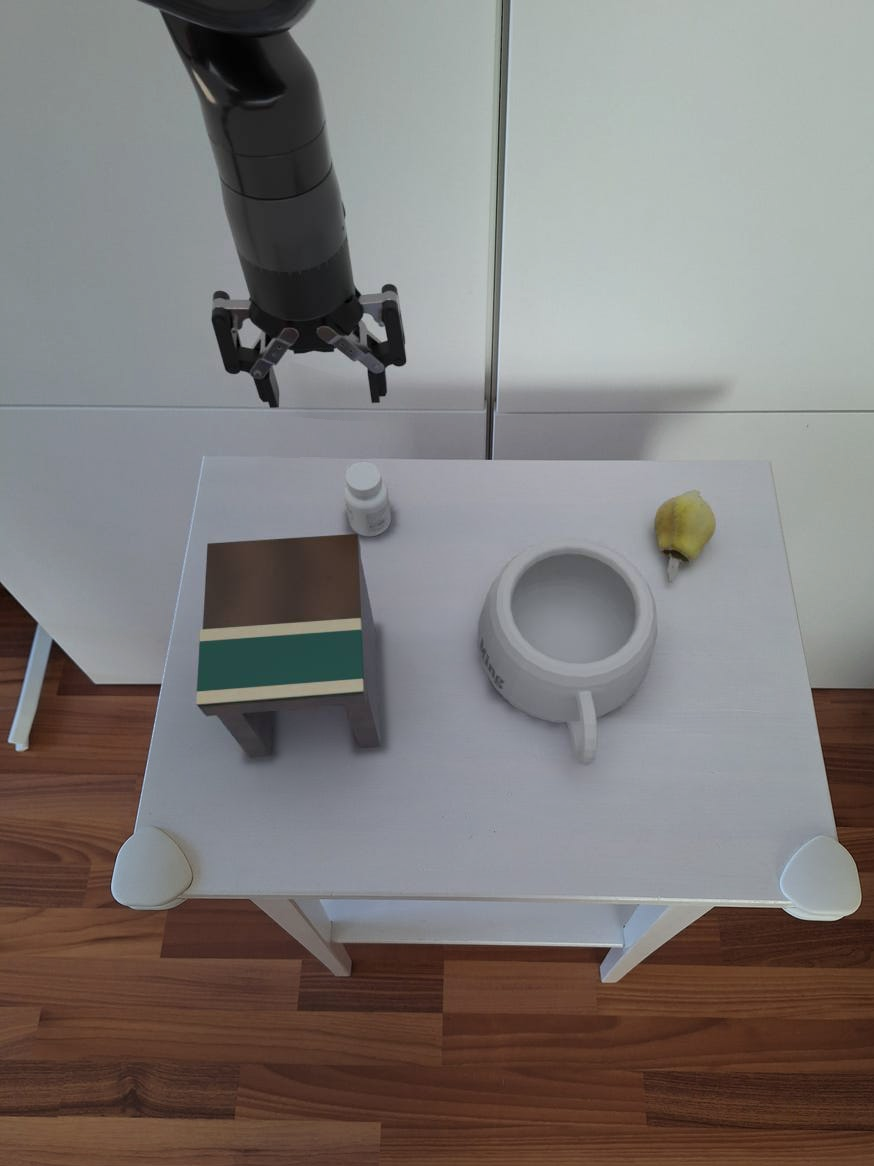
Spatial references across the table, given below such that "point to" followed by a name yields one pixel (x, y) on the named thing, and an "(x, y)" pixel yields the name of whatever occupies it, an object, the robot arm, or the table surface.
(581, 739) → the mug
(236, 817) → the table surface
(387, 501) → the pill bottle
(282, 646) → the towel
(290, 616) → the stool
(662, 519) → the fruit
